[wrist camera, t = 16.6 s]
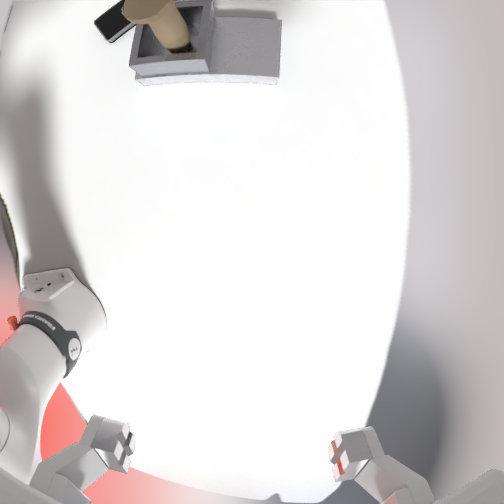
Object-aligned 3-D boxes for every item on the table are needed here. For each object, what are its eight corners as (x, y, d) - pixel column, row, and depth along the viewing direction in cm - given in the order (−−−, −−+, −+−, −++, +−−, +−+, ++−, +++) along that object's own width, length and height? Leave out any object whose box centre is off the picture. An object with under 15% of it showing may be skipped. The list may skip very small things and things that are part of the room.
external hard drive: (97, 26, 30) (92, 22, 28) (148, -11, 28) (145, -16, 26) (112, 45, 32) (107, 41, 30) (166, 7, 30) (163, 1, 28)
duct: (144, 85, 34) (119, 69, 25) (152, 33, 31) (132, 8, 22) (275, 85, 35) (284, 64, 26) (278, 30, 32) (287, 2, 23)
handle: (203, 30, 29) (183, -28, 14) (191, 67, 31) (162, 19, 16) (171, 28, 28) (138, -26, 14) (158, 64, 30) (115, 21, 16)
